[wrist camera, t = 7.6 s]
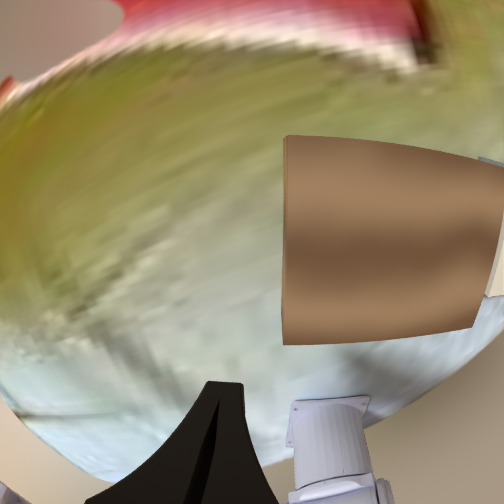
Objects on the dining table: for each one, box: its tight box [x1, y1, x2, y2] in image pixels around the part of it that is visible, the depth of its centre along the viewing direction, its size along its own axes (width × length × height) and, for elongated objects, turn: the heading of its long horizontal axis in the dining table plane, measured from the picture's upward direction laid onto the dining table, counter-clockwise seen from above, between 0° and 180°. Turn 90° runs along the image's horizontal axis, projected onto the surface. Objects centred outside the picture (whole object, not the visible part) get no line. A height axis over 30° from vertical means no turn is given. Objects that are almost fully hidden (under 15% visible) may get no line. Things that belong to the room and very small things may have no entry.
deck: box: [281, 135, 504, 345], centre depth 16 cm, size 12×15×4 cm
